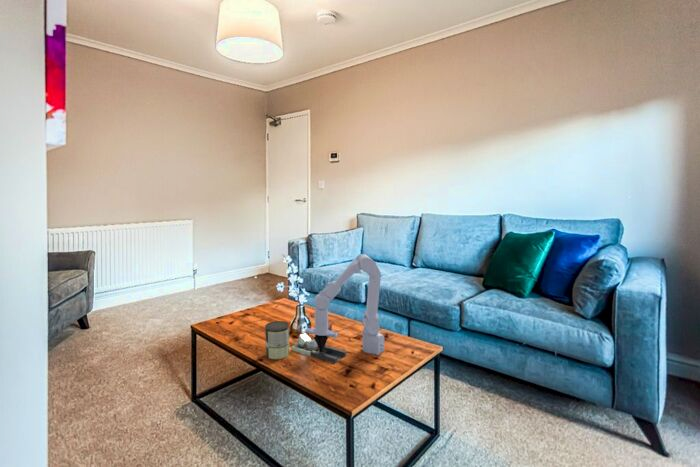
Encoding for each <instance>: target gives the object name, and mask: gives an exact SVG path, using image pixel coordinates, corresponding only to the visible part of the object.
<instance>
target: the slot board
mask: <svg viewBox="0 0 700 467" xmlns="http://www.w3.org/2000/svg"><path fill="white" fill-rule="evenodd" d="M310 352H311V356H310V357H313V358H317V359H320V360H323V361H327V362H329V363H332V364H336V363H338V362H339V361H341V360H342V359H343V358H345V357H346V356H347V351H346V350H343V349H339V348H336V347H332V346H328V345H325V348H324V351H323V352H319V350H315V351H310Z"/></svg>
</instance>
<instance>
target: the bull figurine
mask: <svg viewBox="0 0 700 467" xmlns="http://www.w3.org/2000/svg"><path fill="white" fill-rule="evenodd" d="M332 328H333V324H332V322H331V321H330V320H328V330H330V331H333V330H332Z"/></svg>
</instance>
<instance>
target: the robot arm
mask: <svg viewBox="0 0 700 467" xmlns="http://www.w3.org/2000/svg"><path fill="white" fill-rule="evenodd" d="M362 271H363V272H365V273H366V274H367V276H368V277H369V278H368V286H367V296H366V308H365V309H366V310H365V311H364V315H363V317H362V319H361V324H362V326H363V330H362V351H363V353H366V354H373V355H377V356H379V355H380V354H382V353H383V352H384V351H385V336H384V334H382V333H380V330H381V325H380V323H379V318H380V317H379V314H378V310H379V300H380V288H381V287H380V286H381V277H382V273H381V271H380V269H379V267H378V265H377V262H376V261H375V260H373V259H372V257H370V256H368V255H367V254H365V253H360V254H358V255H357V256H356V258H354V259H353V260H352V261H351V262H350V264H348V265H347V267H346V268H345V269H344V271H343V272H341V274H340V275H339V276H338V277H337V279H335V280H332V281H330V282H327V283H326V286H325V287H324V288H323V289H322V290H320V291H319V293H318V294H316V295H315V296H314V299H313V302H314V306H315V307H314V328H309V327H308V328H306V329H305V333H306V334H307V335H314V337H313V339H315V341H316V343H317V345H318V351H319V352H323V351H324V348H325V346H326V343H327V341H328V339H329V338H333V339H337V338H338V335H339V334H338V332H336V331H333V330H332V331H330V330H328V321H329V311H328V308H329V306H330V302H331V301H332V300H334V298H335V297H336V296H337V295H338V294H339V293H340V291H342V286H343V285H344V284H345V283H346V282H347V281H348V280H349V279H350V278H351V277H353V275H354V274H361V273H362Z"/></svg>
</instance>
